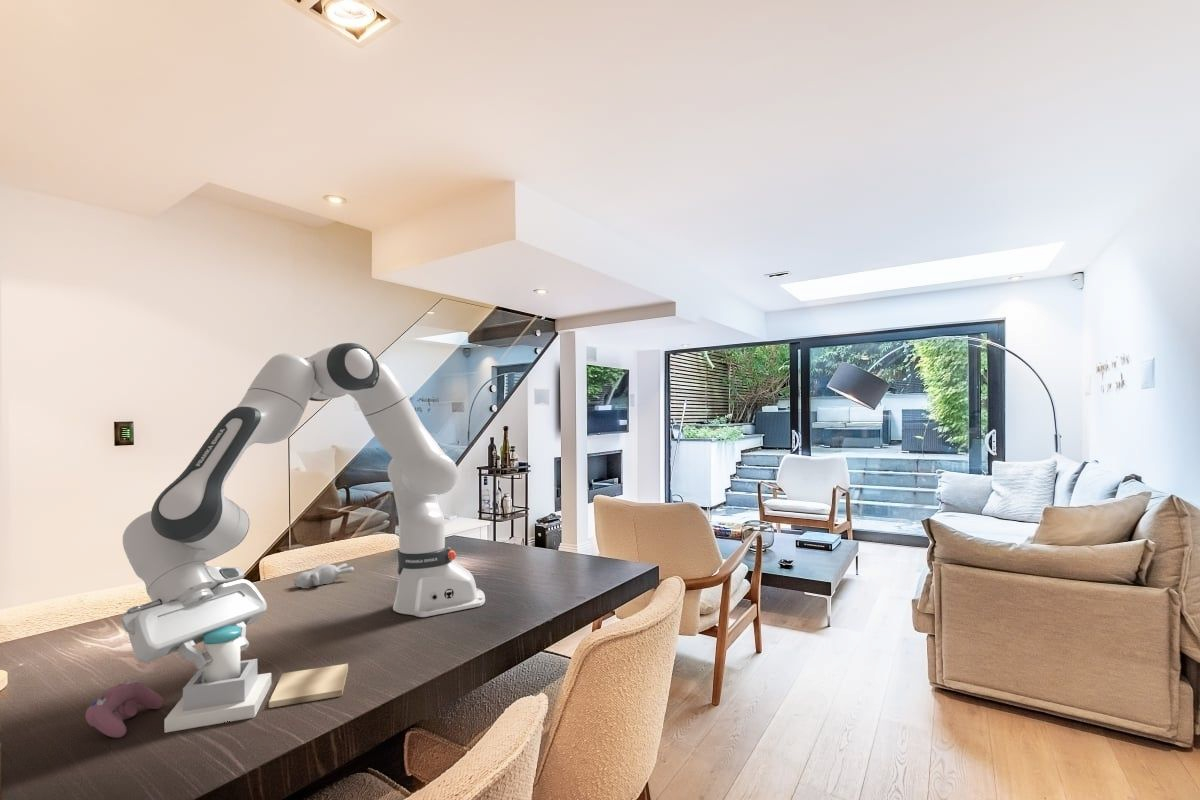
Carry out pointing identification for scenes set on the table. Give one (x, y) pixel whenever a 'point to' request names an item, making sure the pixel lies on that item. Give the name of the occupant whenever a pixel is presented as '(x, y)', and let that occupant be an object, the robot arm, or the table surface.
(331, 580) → the bunny figurine
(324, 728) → the table surface
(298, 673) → the pad
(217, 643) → the cylinder
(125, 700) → the video game controller
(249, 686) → the housing
